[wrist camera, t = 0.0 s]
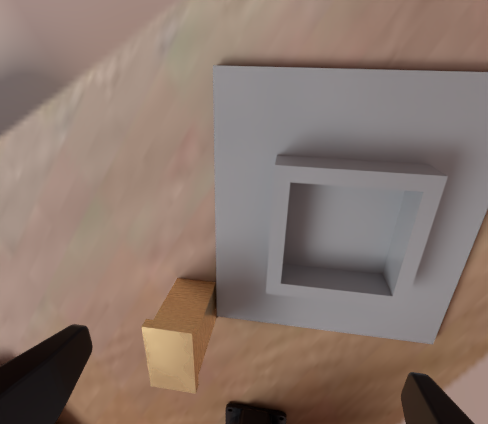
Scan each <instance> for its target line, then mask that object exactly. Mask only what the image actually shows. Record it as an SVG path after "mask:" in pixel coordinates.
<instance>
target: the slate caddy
mask: <svg viewBox="0 0 488 424" xmlns="http://www.w3.org/2000/svg"><path fill="white" fill-rule="evenodd" d="M213 98H214V161H215V224H216V288H217V316H220V317H228V318H235V319H243V320H251V321H258V322H266V323H274V324H281V325H289V326H297V327H304V328H312V329H320V330H327V331H335V332H343V333H350V334H358V335H366V336H373V337H381V338H389V339H396V340H404V341H412V342H419V343H427V344H433V343H434V340H435V338H436V335H437V333H438V330H439V328H440V326H441V323H442V321H443V318H444V316H445V313H446V311H447V308H448V306H449V303H450V301H451V298H452V296H453V293H454V291H455V288H456V286H457V283H458V281H459V278H460V276H461V273H462V271H463V268H464V266H465V263H466V261H467V258H468V256H469V254H470V251H471V249H472V246H473V244H474V241H475V239H476V236H477V234H478V231H479V229H480V226H481V224H482V221H483V219H484V216H485V214H486V211H487V209H488V72H460V71H419V70H379V69H338V68H297V67H256V66H215V65H213Z"/></svg>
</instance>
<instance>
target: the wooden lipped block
mask: <svg viewBox="0 0 488 424" xmlns="http://www.w3.org/2000/svg"><path fill="white" fill-rule="evenodd" d="M216 317H217V315H216V282H207V281H199V280H190V279H181V278H177V280H176V281H175V283H174V285H173V287H172V288H171V290H170V292H169V294H168V295H167V297H166V299H165V301H164V302H163V304H162V306H161V308H160V309H159V311H158V313H157V315H156V316H155V318H154V320H150V319H146V320H145V322H144V324H143V325H142V332H143V339H144V345H145V351H146V358H147V364H148V371H149V377H150V383H151V386H153V387H159V388H165V389H171V390H178V391H184V392H190V393H196V391H197V388H198V385H199V384H198V374H199V371H200V368H201V365H202V362H203V359H204V355H205V352H206V349H207V346H208V343H209V340H210V336H211V333H212V330H213V327H214V324H215V321H216Z"/></svg>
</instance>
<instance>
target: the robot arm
mask: <svg viewBox="0 0 488 424" xmlns="http://www.w3.org/2000/svg"><path fill="white" fill-rule="evenodd" d="M91 352H92V341H91V337H90V334H89V330H88V328H87V327H86V326H84V325H77V324H73V325H70V326H68V327H67V328H65V329H63V330H62V331H60V332H58V333H56V334H55V335H53V336H51V337H50V338H48V339H46V340H44V341H43V342H41V343H39V344H38V345H36V346H34V347H33V348H31V349H29V350H27V351H26V352H24V353H22V354H21V355H19V356H17V357H15V358H14V359H12V360H10V361H9V362H7V363H5V364H3V365H2V366H0V424H55V422H56V421H57V419H58V417H59V416H60V414H61V412H62V410H63V409H64V407H65V405H66V403H67V401H68V399H69V397H70V395H71V393H72V391H73V389H74V387H75V385H76V383H77V381H78V379H79V377H80V375H81V373H82V371H83V369H84V367H85V365H86V363H87V361H88V359H89V357H90V355H91ZM401 401H402V407H403V412H404V417H405V422H406V424H474V423H473V422H472V421H471V420H470V419H469V418H468V416H467V415H466V414H464V412H463V411H462V410H461V409H460V408H459V407H458V406H457V405H456V404H455V403H454V402H453V401H452V400H451V399H450V397H448V396H447V394H446V393H445V392H444V391H443V390H442V389H441V388H440V387H439V386H438V385H437V384H436V383H435V382H434V381H433V380H432V378H430V377H429V376H428V375H426V374H421V373H414V372H411V373H409V375H408V377H407V379H406V382H405V385H404V387H403V390H402V394H401ZM226 424H286V414H285V413H284V412H279V411H273V410H267V409H261V408H255V407H249V406H243V405H237V404H231V403H229V404H227V405H226Z"/></svg>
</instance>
